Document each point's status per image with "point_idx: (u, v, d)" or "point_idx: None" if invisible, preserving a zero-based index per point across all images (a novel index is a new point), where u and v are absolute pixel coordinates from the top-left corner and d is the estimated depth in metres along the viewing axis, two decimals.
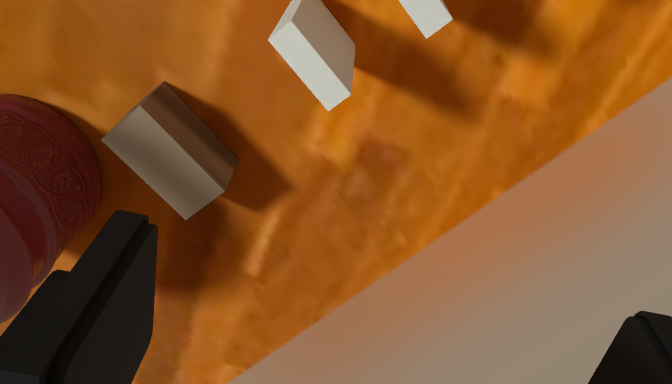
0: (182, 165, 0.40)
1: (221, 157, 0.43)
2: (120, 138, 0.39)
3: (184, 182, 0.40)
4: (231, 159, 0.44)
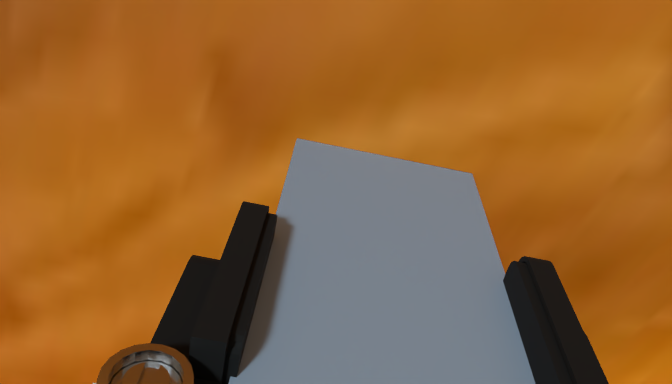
0: None
1: None
2: None
3: None
4: None
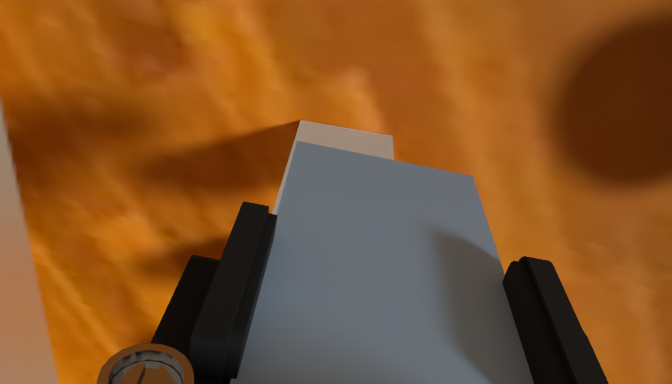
0: None
1: None
2: None
3: None
4: None
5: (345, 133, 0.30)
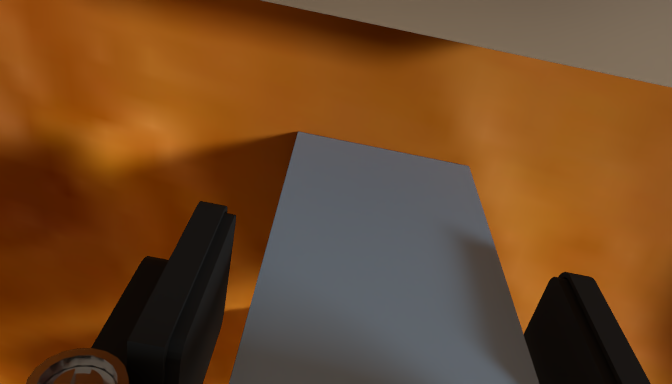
0: None
1: None
2: None
3: None
4: None
5: None
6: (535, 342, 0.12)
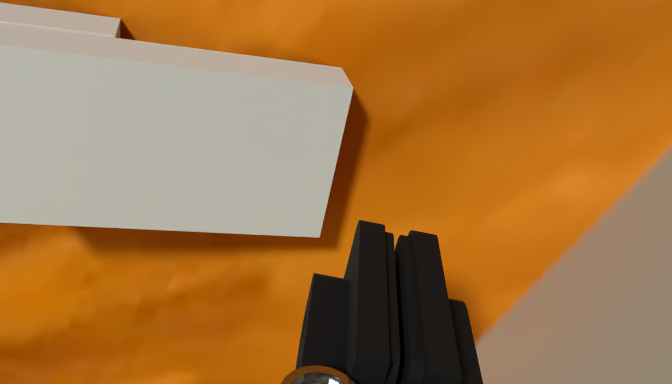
0: None
1: None
2: None
3: None
4: None
5: None
6: None
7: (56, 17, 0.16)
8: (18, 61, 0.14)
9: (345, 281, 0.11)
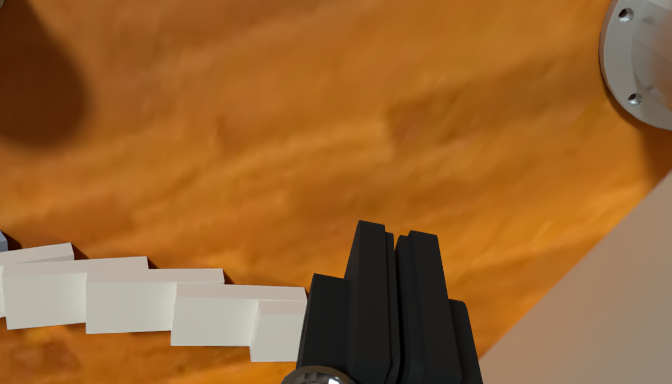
0: None
1: None
2: None
3: None
4: None
5: None
6: None
7: (286, 292, 0.46)
8: (283, 318, 0.44)
9: (345, 281, 0.11)
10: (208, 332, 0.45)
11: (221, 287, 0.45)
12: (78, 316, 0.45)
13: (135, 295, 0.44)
